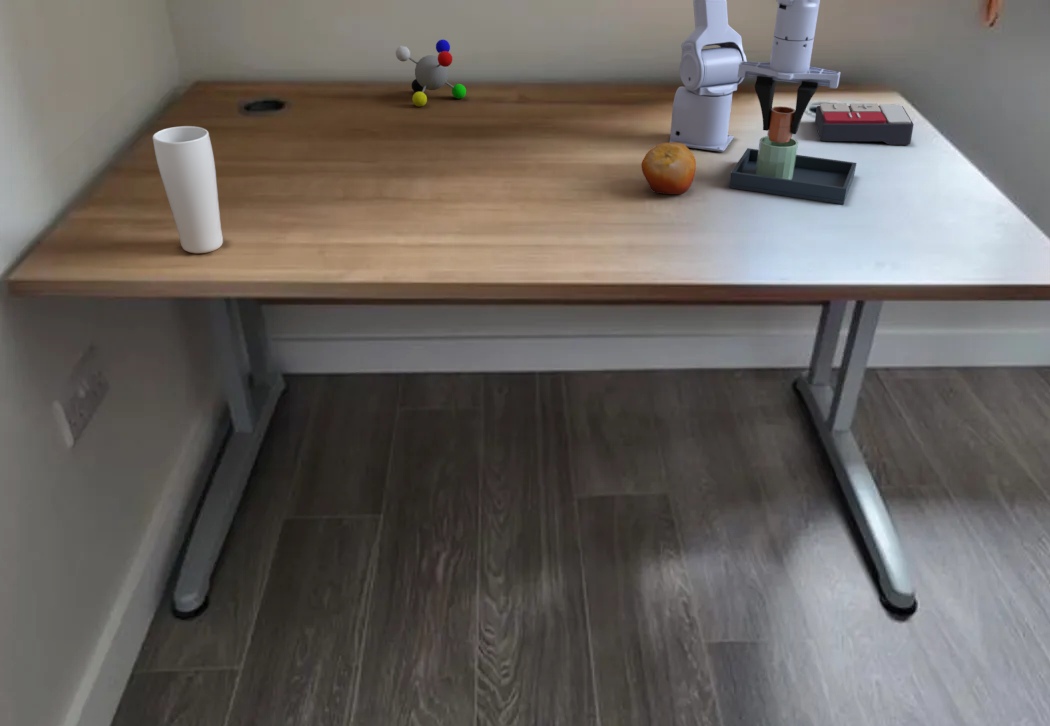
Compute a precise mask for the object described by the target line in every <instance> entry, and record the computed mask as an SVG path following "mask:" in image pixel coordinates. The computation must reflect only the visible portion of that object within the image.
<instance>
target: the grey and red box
mask: <svg viewBox="0 0 1050 726" xmlns="http://www.w3.org/2000/svg"><path fill="white" fill-rule="evenodd" d="M815 108H816V109H815V117H814V118H815V119H814V124H815V126H816V127H815V128H816V129H817V132H818V136H819V138H820V141H822V142H884V143H885V144H886V145H889V146H890V145H891V146H908V145H911V143H912V137H913V131H914V125H915V124H914V122H913V121H912V119H911V117H910V116H909V114H908V112H907V111H906V108H905V107H904V106H903V105H902V104H899V103H896V104H895V103H894V104H893V103H892V104H890V103H888V104H887V103H884V104H883V103H881V104H879V105H878V103H877V102H876V103H875V102H873V103H871V102H870V103H869V102H867V103H866V102H856V103H855V102H851V103H849V104H848V103H847V102H846V103H843V102H842V103H839V102H835V103H833V102H832V103H830V102H828V103H825V102H824V103H823V102H822V103H820V104H819V105H817V106H816V107H815Z"/></svg>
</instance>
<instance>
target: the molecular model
mask: <svg viewBox="0 0 1050 726" xmlns="http://www.w3.org/2000/svg"><path fill="white" fill-rule="evenodd" d="M435 50H436V52H437V53H438V55H432V54H431V55H425V56H422V57H421V58H420V59H419V60H418V61H416V60H415V59H413V58H412V57H411V50H410V49H409V47H407V46H405V45H399V46H398V47H397V48H396V50H395V57H396V58H397V60H399V61H400V62H407V61H409V60H410V61H411V62H413V63H414V64H415V68H414V76H415V79H414V80H412V82H411V89H412V91H413V92H414V93H413V95H412V98H411V100H412V103H413V104H414V106H416V107H420V108H421V107H424V106H425V105H426V104H427V102H428V97H427V94H426V93H425V91H426V90H429V91H436V90H439V89H441V88H442V87H443V86H444V85H445V84H446V85H447V86H449V87H450V88H452V89H451V94H452V96H453V97H454V98H455V99H457V100H461V99H463V98H464V97H465V96H466V94H467V89H466V87H465V85H463V84H461V83H457V84H454V85H452V84H451V83H449V82H448V81H447V80H448V77H449V72H448V71H449V70H448V67H450V66H451V65H452V63H453V55H452V54H451V53H450V50H451V44H450V42H449V41H448V40H446V39H439V40H438V41H437V42H436V44H435Z"/></svg>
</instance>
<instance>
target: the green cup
mask: <svg viewBox="0 0 1050 726" xmlns="http://www.w3.org/2000/svg"><path fill="white" fill-rule="evenodd" d="M798 148H799V141H798V140H797V139H795V138H794V137H791V139H790V141H789V142H786V143H776V142H772V141H770V140H769V137H768V136H767V135H765V136H762V137H761V138H760V139H759V142H758V149H757V150H758V157H757V164H756V174H755V175H760V176H767V177H774V178H781V179H789V180H791V179H792V178H793V174H794V167H795V161H796V155H798Z"/></svg>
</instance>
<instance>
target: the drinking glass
mask: <svg viewBox="0 0 1050 726" xmlns="http://www.w3.org/2000/svg"><path fill="white" fill-rule="evenodd" d="M211 141H212V140H211V137H210V133H209V131H208V130H207V129H206V128H204V127H201V126H195V125H193V126H192V125H182V126H181V125H180V126H173V127H167V128H163V129H161V130H159V131H156V132H155V133H154V134H153V135H152V142H153V143H152V144H153V150H154V154H155V160H156V163H157V168H158V172H159V175H160V178H161V182H162V185H163V187H164V188H163V189H164V191H165V194H166V198H167V200H168V204H169V207H170V210H171V214H172V217H173V220H174V225H175V227H176V231H177V234H178V237H179V238H178V239H179V243H180V246H181V248H182V249H183V250H184V251H186V252H187V253H191V254H207V253H211V252H214V251H216V250H218V249H219V248H221V247H222V246H223V244H224V237H223V231H222V224H221V213H220V203H219V193H218V181H217V180H218V179H217V171H216V162H215V156H214V150H213V146H212V142H211Z"/></svg>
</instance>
